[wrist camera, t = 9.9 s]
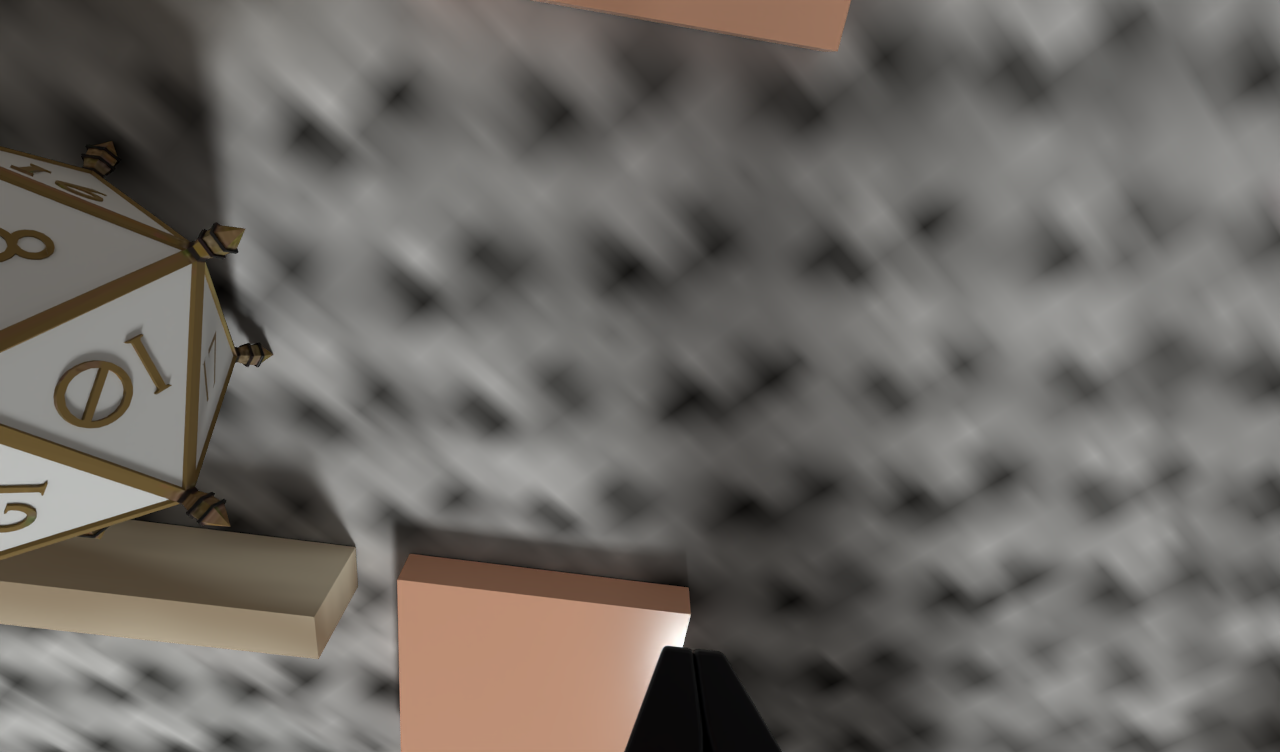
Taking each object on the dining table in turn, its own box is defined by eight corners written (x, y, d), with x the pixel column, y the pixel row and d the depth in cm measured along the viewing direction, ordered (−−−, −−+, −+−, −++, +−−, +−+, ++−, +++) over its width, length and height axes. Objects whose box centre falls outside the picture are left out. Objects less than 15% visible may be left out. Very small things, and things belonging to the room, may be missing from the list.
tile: (645, 758, 22) (645, 788, 21) (411, 733, 22) (401, 763, 21) (688, 587, 19) (690, 614, 18) (409, 553, 18) (397, 579, 17)
